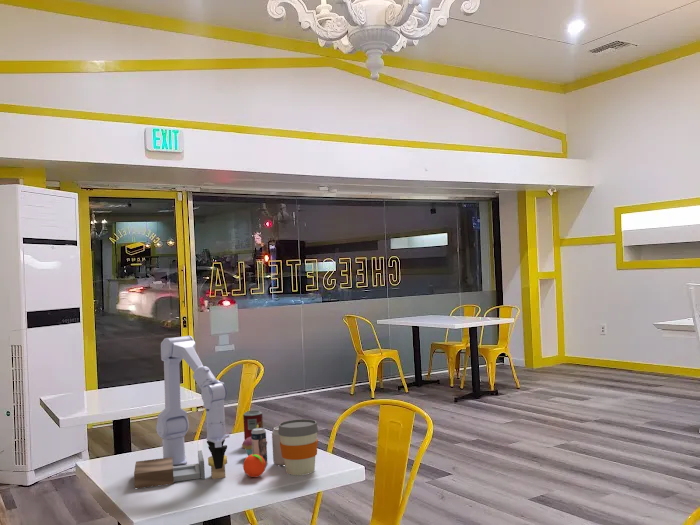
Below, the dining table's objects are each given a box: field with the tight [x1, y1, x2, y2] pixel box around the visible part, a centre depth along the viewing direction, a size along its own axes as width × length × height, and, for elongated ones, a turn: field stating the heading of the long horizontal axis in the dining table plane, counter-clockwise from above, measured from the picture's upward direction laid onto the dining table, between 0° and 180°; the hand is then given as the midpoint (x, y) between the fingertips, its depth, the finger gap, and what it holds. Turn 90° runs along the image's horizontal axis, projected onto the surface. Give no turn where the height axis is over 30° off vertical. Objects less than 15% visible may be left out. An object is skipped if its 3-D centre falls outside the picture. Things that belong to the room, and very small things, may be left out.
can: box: [271, 425, 285, 467], centre depth 219 cm, size 8×8×12 cm
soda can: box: [242, 410, 264, 441], centre depth 247 cm, size 7×7×12 cm
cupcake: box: [241, 425, 268, 457], centre depth 229 cm, size 9×8×12 cm
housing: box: [133, 457, 175, 489], centre depth 208 cm, size 15×11×4 cm
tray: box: [173, 450, 206, 483], centre depth 211 cm, size 14×12×6 cm
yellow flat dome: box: [207, 454, 228, 467], centre depth 208 cm, size 6×6×2 cm
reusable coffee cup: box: [278, 418, 319, 476], centre depth 209 cm, size 12×13×15 cm
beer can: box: [251, 427, 268, 466], centre depth 217 cm, size 5×5×12 cm
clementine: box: [242, 454, 267, 478], centre depth 205 cm, size 8×7×7 cm
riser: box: [210, 464, 226, 480], centre depth 208 cm, size 4×4×4 cm
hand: (217, 465), depth 208 cm, fingers open, 7 cm apart
